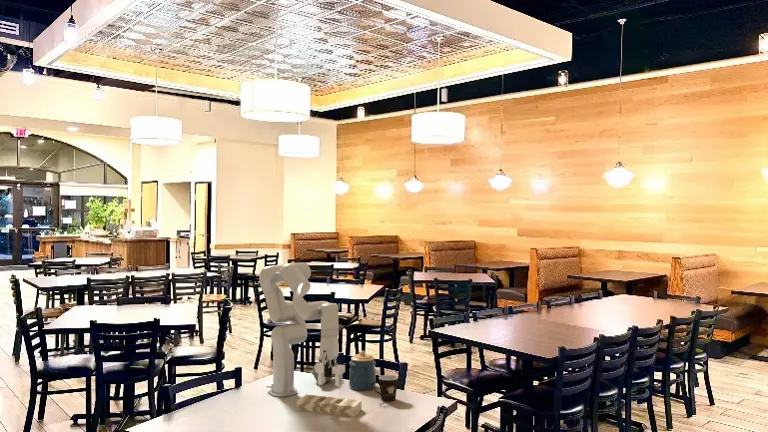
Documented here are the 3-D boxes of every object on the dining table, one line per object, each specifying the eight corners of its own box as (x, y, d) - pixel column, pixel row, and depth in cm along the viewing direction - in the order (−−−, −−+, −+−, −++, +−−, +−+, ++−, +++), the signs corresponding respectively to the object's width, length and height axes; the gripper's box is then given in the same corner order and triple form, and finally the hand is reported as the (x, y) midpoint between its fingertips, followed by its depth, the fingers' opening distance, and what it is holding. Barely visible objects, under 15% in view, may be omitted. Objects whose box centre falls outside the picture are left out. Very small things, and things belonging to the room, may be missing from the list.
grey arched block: (315, 384, 248) (315, 365, 248) (319, 381, 252) (319, 363, 252) (341, 386, 244) (341, 367, 244) (345, 384, 248) (344, 365, 248)
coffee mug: (398, 397, 266) (398, 375, 266) (397, 403, 257) (397, 380, 258) (373, 396, 267) (373, 374, 267) (371, 402, 259) (371, 379, 259)
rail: (297, 409, 248) (297, 400, 248) (306, 403, 257) (306, 394, 257) (353, 416, 240) (353, 406, 240) (361, 409, 248) (361, 400, 248)
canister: (360, 392, 272) (360, 355, 273) (343, 387, 282) (343, 350, 282) (381, 387, 281) (381, 351, 281) (364, 381, 291) (364, 346, 291)
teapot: (329, 388, 280) (329, 356, 280) (306, 386, 282) (306, 355, 282) (341, 376, 301) (341, 347, 301) (319, 375, 303) (319, 346, 303)
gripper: (329, 328, 257) (329, 370, 257) (313, 335, 241) (313, 380, 241) (345, 329, 255) (345, 371, 255) (329, 336, 239) (330, 381, 239)
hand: (330, 375), depth 248 cm, fingers closed on grey arched block, 4 cm apart
